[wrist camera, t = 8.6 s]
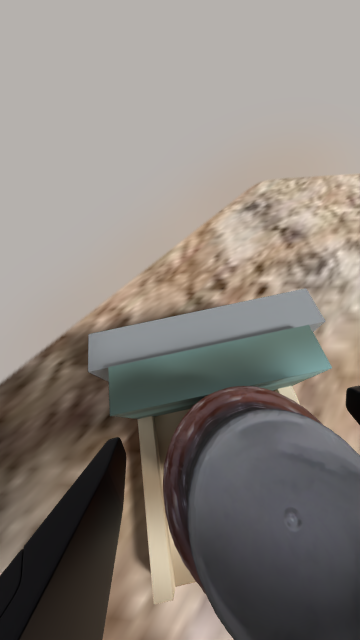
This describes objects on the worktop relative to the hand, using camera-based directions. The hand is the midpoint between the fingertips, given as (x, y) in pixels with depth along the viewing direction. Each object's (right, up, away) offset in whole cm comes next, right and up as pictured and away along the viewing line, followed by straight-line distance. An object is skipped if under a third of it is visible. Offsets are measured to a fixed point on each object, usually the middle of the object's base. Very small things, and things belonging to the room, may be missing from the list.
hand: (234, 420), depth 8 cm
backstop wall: (0, +1, +10) cm, 10 cm away
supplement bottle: (+1, -5, +6) cm, 8 cm away
